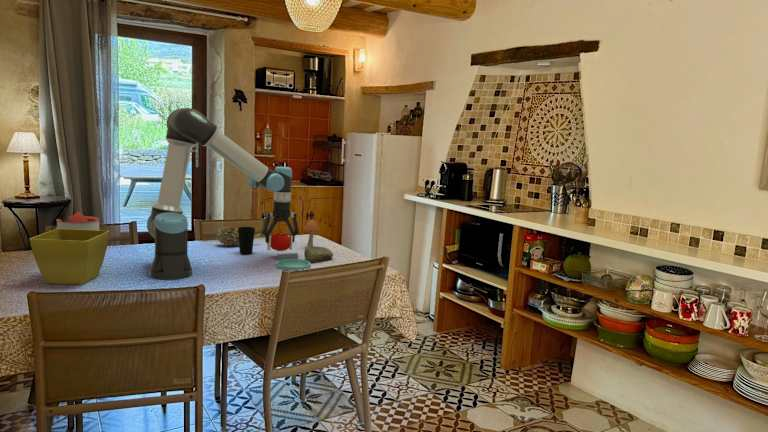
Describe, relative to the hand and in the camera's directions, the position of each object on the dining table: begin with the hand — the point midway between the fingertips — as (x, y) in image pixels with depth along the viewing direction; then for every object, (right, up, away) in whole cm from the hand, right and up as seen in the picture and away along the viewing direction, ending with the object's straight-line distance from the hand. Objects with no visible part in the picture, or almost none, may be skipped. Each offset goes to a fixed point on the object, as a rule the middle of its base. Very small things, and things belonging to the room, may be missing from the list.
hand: (279, 249), depth 241 cm
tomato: (0, -1, 0) cm, 1 cm away
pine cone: (-24, 0, +21) cm, 32 cm away
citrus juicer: (-80, -3, -21) cm, 83 cm away
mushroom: (+11, -1, +22) cm, 25 cm away
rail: (+5, -5, -6) cm, 9 cm away
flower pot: (-65, -8, -50) cm, 83 cm away
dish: (+9, -6, -14) cm, 18 cm away
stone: (+17, -5, 0) cm, 18 cm away
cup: (-17, -2, +5) cm, 17 cm away
